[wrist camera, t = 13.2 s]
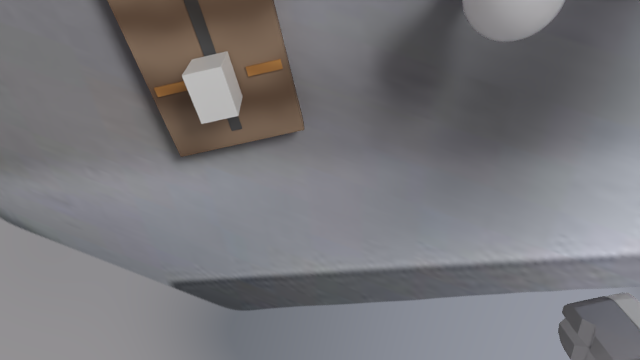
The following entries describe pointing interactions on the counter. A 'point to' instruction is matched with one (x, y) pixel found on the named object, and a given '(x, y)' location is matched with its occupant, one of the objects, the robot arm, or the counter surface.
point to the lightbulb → (510, 17)
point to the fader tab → (213, 87)
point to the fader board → (203, 40)
